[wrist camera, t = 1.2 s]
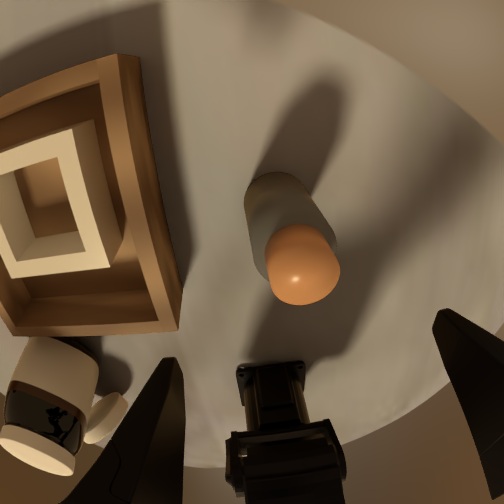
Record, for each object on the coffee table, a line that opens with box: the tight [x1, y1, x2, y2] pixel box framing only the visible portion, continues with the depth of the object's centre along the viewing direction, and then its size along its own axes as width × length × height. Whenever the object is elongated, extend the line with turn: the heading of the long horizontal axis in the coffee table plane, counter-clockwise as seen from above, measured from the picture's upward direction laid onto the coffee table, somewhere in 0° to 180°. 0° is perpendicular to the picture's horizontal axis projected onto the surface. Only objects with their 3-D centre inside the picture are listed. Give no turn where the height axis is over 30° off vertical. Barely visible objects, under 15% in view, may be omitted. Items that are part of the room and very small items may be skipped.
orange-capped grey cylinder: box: [244, 172, 340, 305], centre depth 17 cm, size 4×4×8 cm
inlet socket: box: [0, 119, 123, 278], centre depth 16 cm, size 8×8×3 cm
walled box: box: [0, 53, 183, 337], centre depth 16 cm, size 16×14×4 cm
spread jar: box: [0, 336, 128, 476], centre depth 22 cm, size 12×11×12 cm
